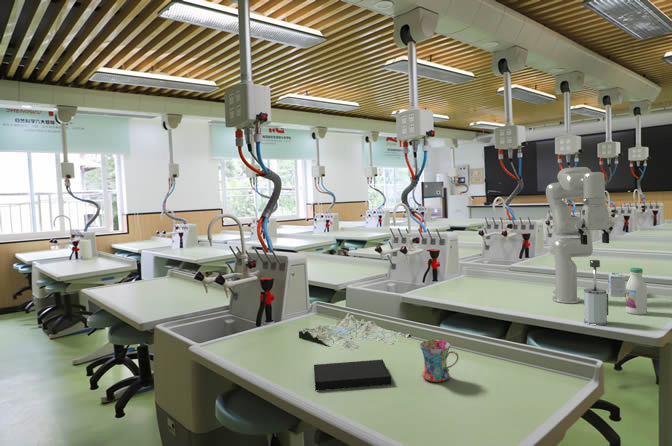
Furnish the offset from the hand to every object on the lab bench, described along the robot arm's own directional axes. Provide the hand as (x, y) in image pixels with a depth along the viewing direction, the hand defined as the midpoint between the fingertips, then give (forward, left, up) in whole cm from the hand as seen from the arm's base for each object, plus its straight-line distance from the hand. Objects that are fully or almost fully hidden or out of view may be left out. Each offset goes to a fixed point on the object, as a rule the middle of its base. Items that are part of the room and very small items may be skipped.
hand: (594, 243), depth 181 cm
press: (0, 0, -33) cm, 33 cm away
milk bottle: (-8, +26, -34) cm, 43 cm away
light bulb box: (-40, +43, -34) cm, 68 cm away
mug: (+38, -82, -34) cm, 96 cm away
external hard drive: (+31, -109, -34) cm, 118 cm away
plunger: (0, 0, -22) cm, 22 cm away
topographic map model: (-9, -101, -34) cm, 107 cm away
